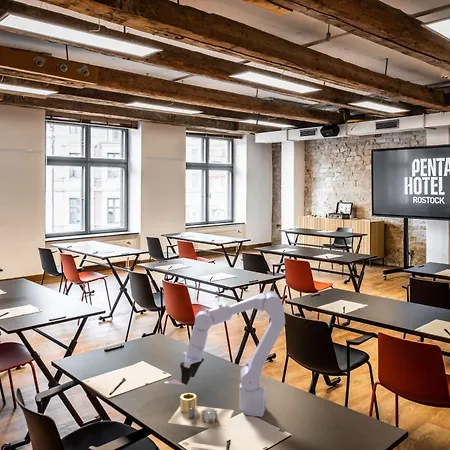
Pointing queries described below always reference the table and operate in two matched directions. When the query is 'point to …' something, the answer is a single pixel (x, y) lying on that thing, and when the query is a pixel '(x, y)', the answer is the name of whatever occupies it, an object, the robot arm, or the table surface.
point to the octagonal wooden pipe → (188, 402)
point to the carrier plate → (184, 419)
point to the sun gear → (209, 416)
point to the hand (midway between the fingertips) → (187, 379)
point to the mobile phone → (174, 382)
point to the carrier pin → (191, 413)
